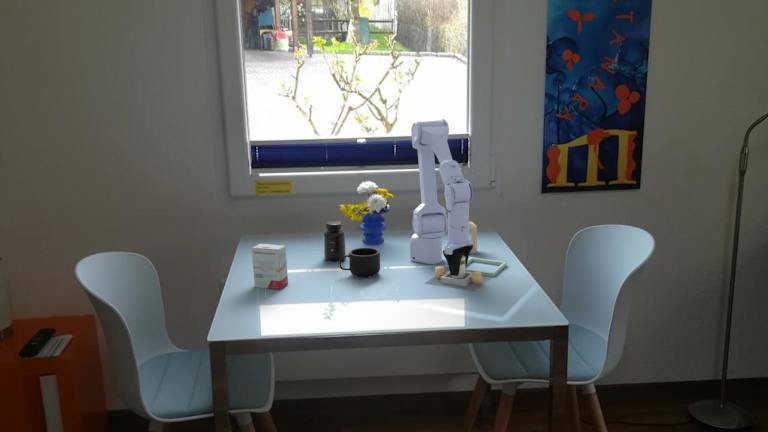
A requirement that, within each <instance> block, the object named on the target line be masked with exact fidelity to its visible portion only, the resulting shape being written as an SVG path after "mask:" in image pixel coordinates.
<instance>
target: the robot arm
mask: <svg viewBox="0 0 768 432" xmlns="http://www.w3.org/2000/svg"><path fill="white" fill-rule="evenodd" d="M410 129H411V130H410V131H411V144H412V148H413V149H416V150H417V157H418V171H419V173H418V175H419V186H420V200H421V201H420V202H421V203H420V204H419V205H418V206H417V207H416V208H415V209H414V210H413V211H412V230H413V232H414V233H413V234H412V235H411V239H410V243H409V245H410V246H409V252H410V254H409V257H410V258H409V260H410V262H417V263H422V264H427V265H435V264H440V263H441V262H443V256H444V258H445V260H446V262H447V266H448V269H449V270H448V271H450V274H451V275H454V276H458V274H459V270H460V263H461V259H462V256H463V255H464V256H465V259H466V262H465V269H467V266H468V265H467V262H468V259H469V258H470V255H471V254H470V252H471V250H472V249H473V245H472V244H473V242H472V241H471V235H469V221H470V203H471V202H472V200H473V198H474V190H473V186H472V185H473V184H472V183H471V182H470V181H469V180H468V179H467V178H465V177H464V175H463V173H462V170H461V168H460V164H459V162H458V161H456V160H454V159H453V156H452V154H451V150H450V147H449V143H448V139H449V134H450V127H449V122H448V121H447V120H446V118H441V119H427V120H425V119H424V120H419V119H416V120H414V121H413V122H412V125H411V128H410ZM435 156H436V158H437V160H438V162H439V164H440V165H439V166H438V172H439V175H440V177H441V179H442V182H443V186H444V191H443V193H444V199H445V207H446V208H445V207H444V206H442V205H440V203H438V191H437V190H438V189H437V175H436V173H437V172H436V162H435V161H436V159H435ZM446 232H447V241H446V245H445V246H444V250H443V236H445V233H446Z"/></svg>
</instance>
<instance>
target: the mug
mask: <svg viewBox="0 0 768 432" xmlns="http://www.w3.org/2000/svg"><path fill="white" fill-rule="evenodd" d="M345 257H346V258H349V261H348V262H349V263H348V264H349V268H348V267H347V268H346V267H343V266H342V263H343V261H342V260H343V258H345ZM338 264H339V268H340V270H341V271H350V273H351V275H353V276H355V277H357V278H361V277H362V278H363V279H367V278H373V277H374V276H376V275H378V274H379V273H380V270H381V251H380V250H379V249H378V248H373V247H357V248H354V249H351V250H350V251H349V253H348V254H346V255H344V256H342V257H341V259H340V262H339V263H338ZM362 278H361V279H362Z"/></svg>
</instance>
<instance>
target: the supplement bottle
mask: <svg viewBox="0 0 768 432" xmlns="http://www.w3.org/2000/svg"><path fill="white" fill-rule="evenodd" d="M325 229H326V230H325V231H324V232H323V235H322V237H323V258H324V261H326V262H329V263H340V259H341V257H342V256H344V255H347V251H346V245H347V244H346V232H345V231H344V230H343V226H342V222H341V221H339V220H330V221H326V223H325ZM346 258H347V257H345V258H343V260H342V262H344V261H345V260H346Z"/></svg>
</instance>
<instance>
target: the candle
mask: <svg viewBox="0 0 768 432" xmlns="http://www.w3.org/2000/svg"><path fill="white" fill-rule="evenodd" d="M469 235H471V241H472V242H473V244H472V245H473V249H472V250H471V252H470V255H473V254H476V253H477V252H478V250H477V249H478V225H476V224H475V223H474V222H473V221H471V220H469Z"/></svg>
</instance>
